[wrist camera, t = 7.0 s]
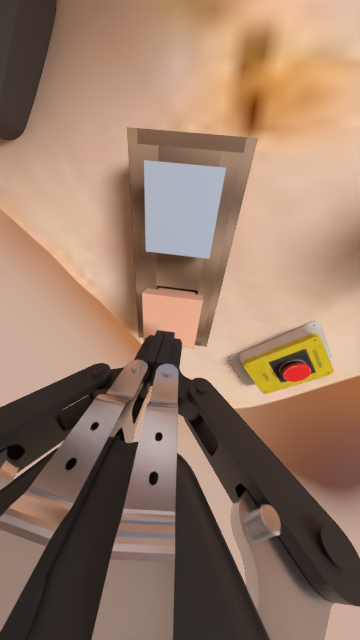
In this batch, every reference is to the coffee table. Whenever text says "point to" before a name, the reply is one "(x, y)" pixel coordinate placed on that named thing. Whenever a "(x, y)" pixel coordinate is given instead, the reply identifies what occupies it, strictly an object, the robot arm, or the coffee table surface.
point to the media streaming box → (21, 58)
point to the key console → (210, 272)
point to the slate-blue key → (181, 207)
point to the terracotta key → (172, 313)
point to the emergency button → (285, 359)
